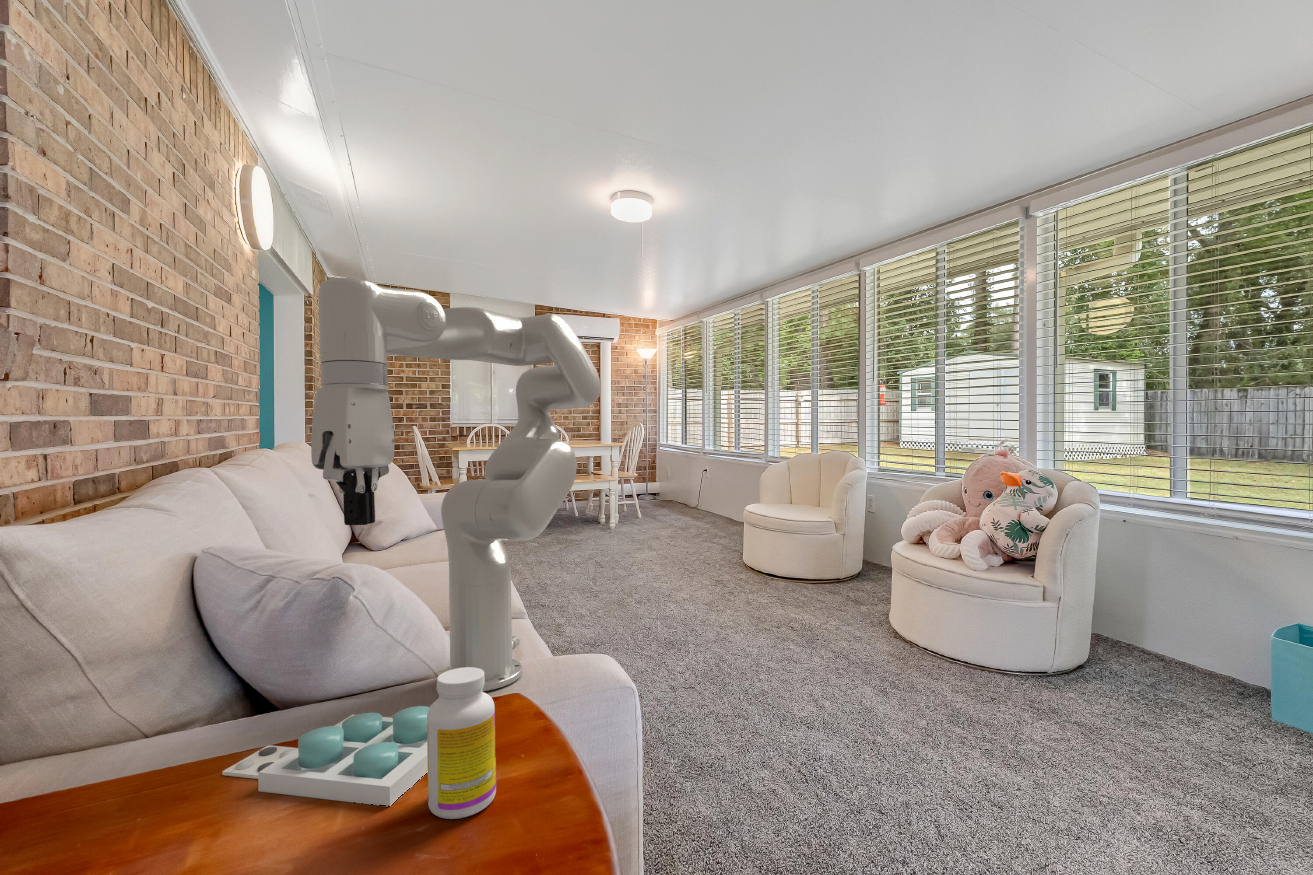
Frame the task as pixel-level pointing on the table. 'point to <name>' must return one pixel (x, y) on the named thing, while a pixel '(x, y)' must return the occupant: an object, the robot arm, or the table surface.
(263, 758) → the tile
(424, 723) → the button
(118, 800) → the table surface
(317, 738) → the button
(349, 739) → the button
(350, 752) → the board
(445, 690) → the supplement bottle
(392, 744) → the button
